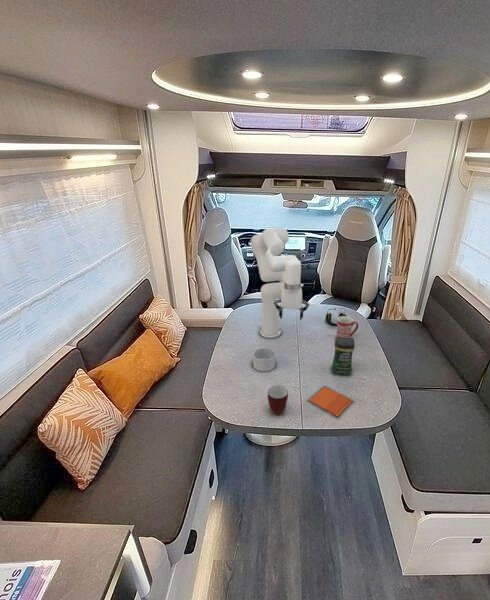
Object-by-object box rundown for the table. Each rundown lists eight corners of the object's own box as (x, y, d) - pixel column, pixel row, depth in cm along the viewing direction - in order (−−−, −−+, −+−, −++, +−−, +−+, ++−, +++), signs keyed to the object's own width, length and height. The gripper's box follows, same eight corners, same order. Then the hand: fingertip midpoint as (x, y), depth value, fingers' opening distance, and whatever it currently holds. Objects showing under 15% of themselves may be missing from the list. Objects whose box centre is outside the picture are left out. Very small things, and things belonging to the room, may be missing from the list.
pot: (248, 365, 157) (248, 354, 155) (264, 355, 165) (263, 345, 163) (264, 374, 151) (264, 362, 148) (279, 364, 159) (280, 353, 156)
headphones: (346, 302, 210) (354, 315, 192) (345, 315, 214) (353, 329, 195) (323, 302, 208) (329, 316, 190) (322, 315, 212) (328, 329, 194)
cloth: (309, 400, 135) (309, 399, 134) (325, 387, 143) (325, 386, 143) (337, 416, 126) (337, 415, 126) (352, 401, 135) (352, 400, 135)
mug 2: (336, 344, 178) (339, 323, 173) (333, 336, 187) (335, 316, 181) (358, 344, 179) (361, 323, 174) (354, 336, 188) (356, 316, 182)
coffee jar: (332, 375, 152) (335, 342, 144) (331, 365, 159) (334, 333, 152) (352, 376, 151) (356, 343, 144) (350, 366, 158) (354, 335, 151)
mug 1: (266, 400, 134) (267, 381, 130) (285, 399, 135) (286, 381, 131) (268, 419, 124) (268, 399, 120) (288, 417, 125) (289, 398, 121)
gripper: (310, 284, 150) (308, 315, 156) (274, 281, 151) (274, 313, 158) (310, 289, 143) (308, 322, 150) (272, 287, 144) (272, 320, 151)
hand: (290, 318), depth 154 cm, fingers open, 9 cm apart
